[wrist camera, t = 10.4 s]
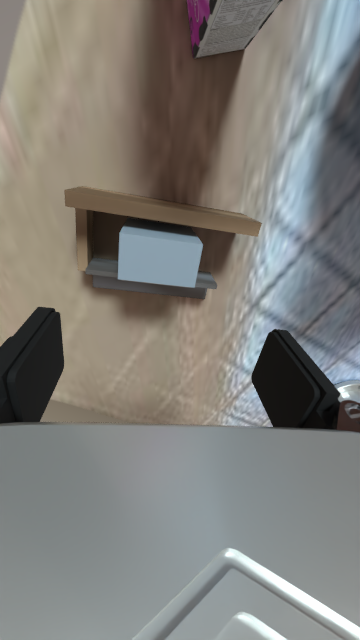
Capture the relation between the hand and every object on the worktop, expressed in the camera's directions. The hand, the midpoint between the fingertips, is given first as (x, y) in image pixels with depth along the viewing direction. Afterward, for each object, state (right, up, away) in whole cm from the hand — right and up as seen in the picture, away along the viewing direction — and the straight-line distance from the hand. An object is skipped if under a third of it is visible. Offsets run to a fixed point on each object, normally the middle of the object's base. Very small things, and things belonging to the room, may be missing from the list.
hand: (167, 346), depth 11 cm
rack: (-2, +9, +18) cm, 20 cm away
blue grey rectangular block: (-2, +10, +17) cm, 20 cm away
